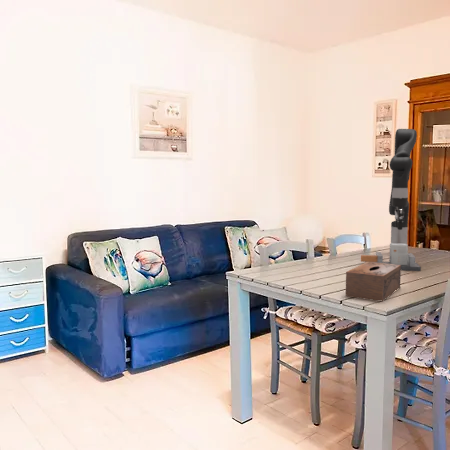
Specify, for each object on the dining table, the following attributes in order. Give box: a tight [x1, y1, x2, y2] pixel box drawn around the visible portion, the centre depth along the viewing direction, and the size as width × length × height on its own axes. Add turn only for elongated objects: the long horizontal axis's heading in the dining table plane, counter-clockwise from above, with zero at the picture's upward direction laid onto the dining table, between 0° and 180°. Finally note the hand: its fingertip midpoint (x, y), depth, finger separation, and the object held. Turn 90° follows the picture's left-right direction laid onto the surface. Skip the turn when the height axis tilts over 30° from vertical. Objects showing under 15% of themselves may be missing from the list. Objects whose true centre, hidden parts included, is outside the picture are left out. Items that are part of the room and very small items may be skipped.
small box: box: [388, 242, 409, 265], centre depth 234 cm, size 8×6×10 cm
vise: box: [374, 252, 422, 272], centre depth 236 cm, size 12×26×7 cm, turn 76°
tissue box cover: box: [345, 262, 402, 302], centre depth 187 cm, size 26×14×10 cm, turn 145°
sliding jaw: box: [360, 251, 384, 263], centre depth 238 cm, size 12×10×5 cm
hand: (398, 228), depth 233 cm, fingers open, 8 cm apart
